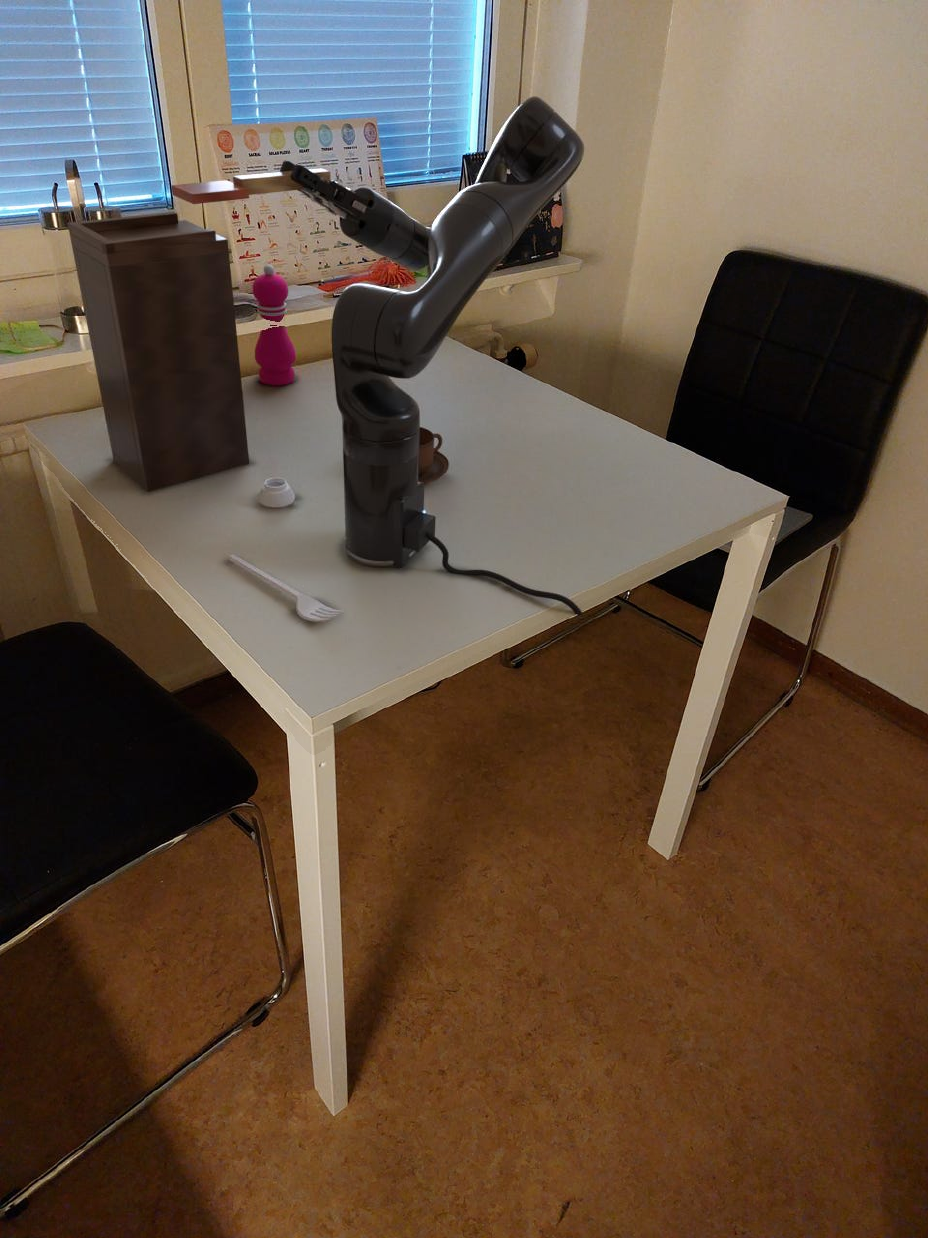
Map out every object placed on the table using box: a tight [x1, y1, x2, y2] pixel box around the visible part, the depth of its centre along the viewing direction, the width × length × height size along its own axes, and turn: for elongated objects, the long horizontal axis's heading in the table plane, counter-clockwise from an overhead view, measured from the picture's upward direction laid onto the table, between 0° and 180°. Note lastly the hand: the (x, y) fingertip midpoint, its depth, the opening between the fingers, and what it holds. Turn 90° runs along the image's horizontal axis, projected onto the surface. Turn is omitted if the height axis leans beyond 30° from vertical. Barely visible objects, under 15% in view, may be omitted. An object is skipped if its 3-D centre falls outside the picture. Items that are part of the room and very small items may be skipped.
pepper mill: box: [252, 264, 297, 386], centre depth 156 cm, size 7×7×20 cm
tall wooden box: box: [67, 211, 250, 493], centre depth 124 cm, size 16×12×33 cm
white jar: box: [257, 477, 296, 508], centre depth 125 cm, size 5×3×5 cm
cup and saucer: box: [418, 426, 450, 485], centre depth 133 cm, size 12×12×6 cm
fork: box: [228, 554, 345, 623], centre depth 107 cm, size 3×20×2 cm, turn 49°
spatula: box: [170, 167, 332, 205], centre depth 121 cm, size 22×6×2 cm, turn 130°
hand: (288, 169), depth 123 cm, fingers closed on spatula, 2 cm apart
